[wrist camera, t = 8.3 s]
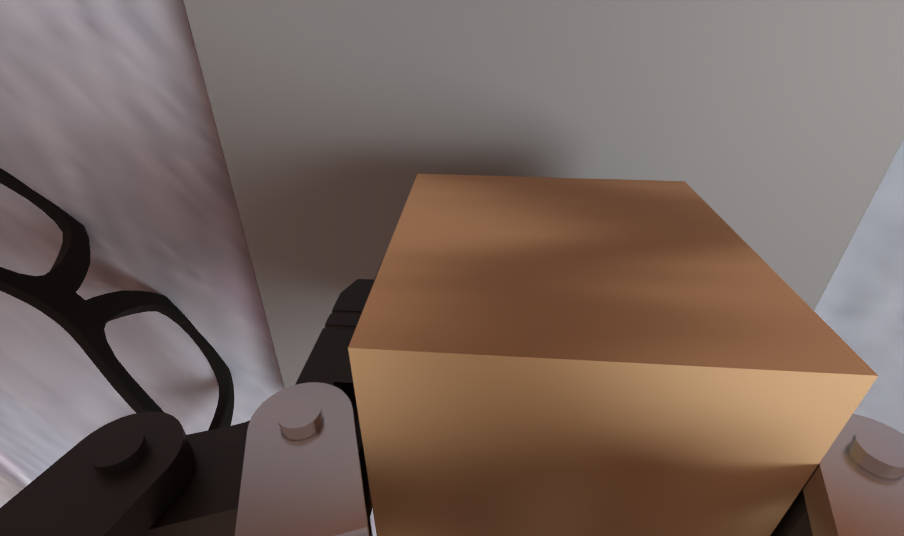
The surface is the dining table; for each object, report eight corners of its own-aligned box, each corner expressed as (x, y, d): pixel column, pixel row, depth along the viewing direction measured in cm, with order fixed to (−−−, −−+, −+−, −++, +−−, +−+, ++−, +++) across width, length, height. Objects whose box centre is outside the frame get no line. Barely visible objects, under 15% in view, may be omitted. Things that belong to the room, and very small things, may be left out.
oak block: (684, 180, 8) (877, 375, 4) (629, 376, 11) (714, 618, 7) (417, 173, 9) (348, 348, 5) (424, 365, 11) (385, 589, 7)
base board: (987, -160, 9) (1072, -186, 7) (724, 413, 17) (742, 448, 16) (185, -148, 10) (139, -169, 8) (306, 387, 18) (292, 418, 17)
